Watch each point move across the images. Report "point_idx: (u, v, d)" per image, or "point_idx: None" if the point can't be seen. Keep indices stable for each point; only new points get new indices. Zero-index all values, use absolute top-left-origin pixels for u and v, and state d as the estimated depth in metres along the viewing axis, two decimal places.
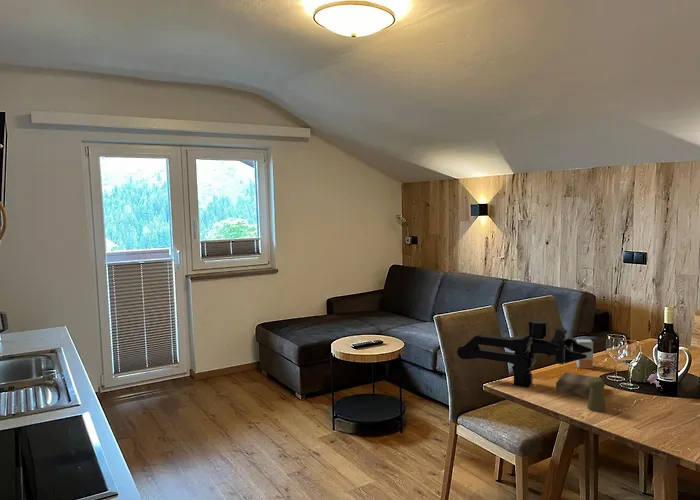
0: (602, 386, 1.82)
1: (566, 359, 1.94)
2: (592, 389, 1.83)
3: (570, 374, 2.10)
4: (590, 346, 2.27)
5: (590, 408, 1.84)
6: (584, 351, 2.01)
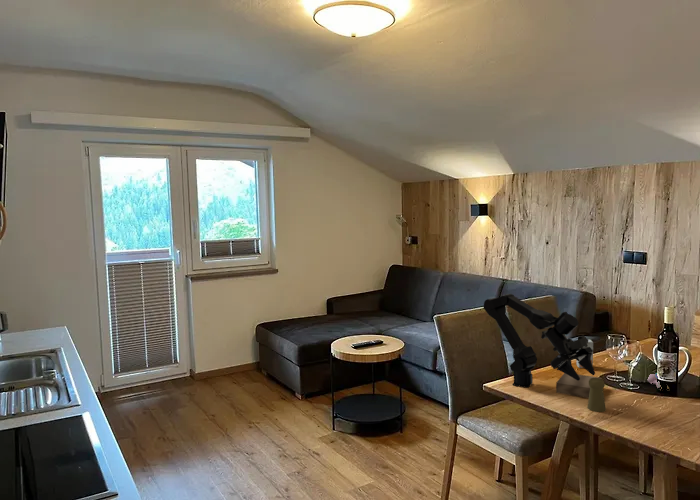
0: (602, 386, 1.82)
1: (560, 368, 1.87)
2: (592, 389, 1.83)
3: None
4: (590, 346, 2.27)
5: (590, 408, 1.84)
6: (588, 369, 1.91)
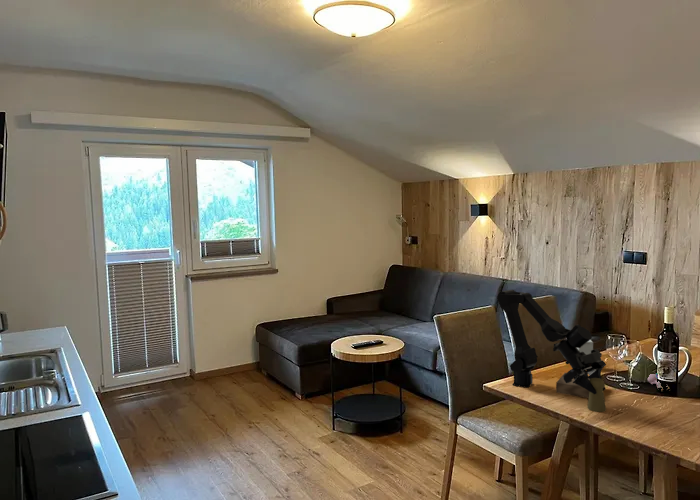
0: (602, 386, 1.82)
1: (576, 381, 1.84)
2: None
3: None
4: (590, 346, 2.27)
5: (590, 408, 1.84)
6: None
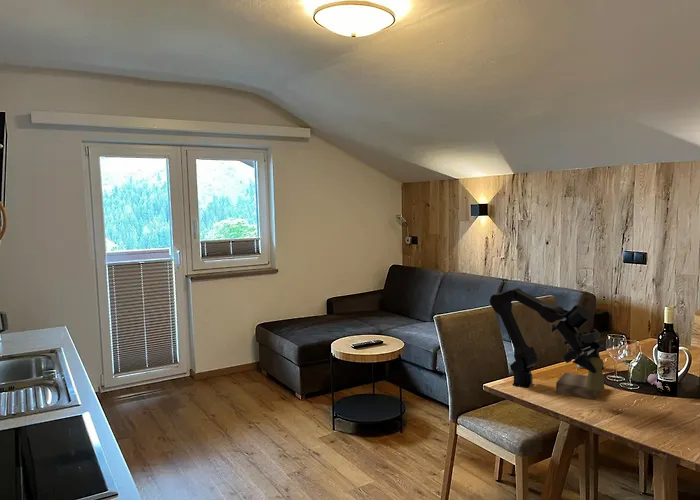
0: (601, 365, 1.83)
1: (576, 360, 1.86)
2: None
3: (570, 374, 2.10)
4: None
5: (589, 387, 1.85)
6: None
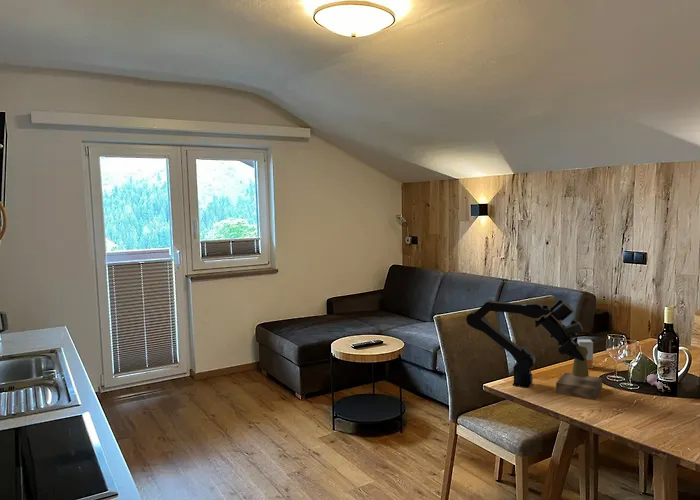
0: (587, 352, 1.99)
1: (567, 351, 1.98)
2: None
3: (570, 374, 2.10)
4: (590, 346, 2.27)
5: (578, 374, 1.99)
6: None
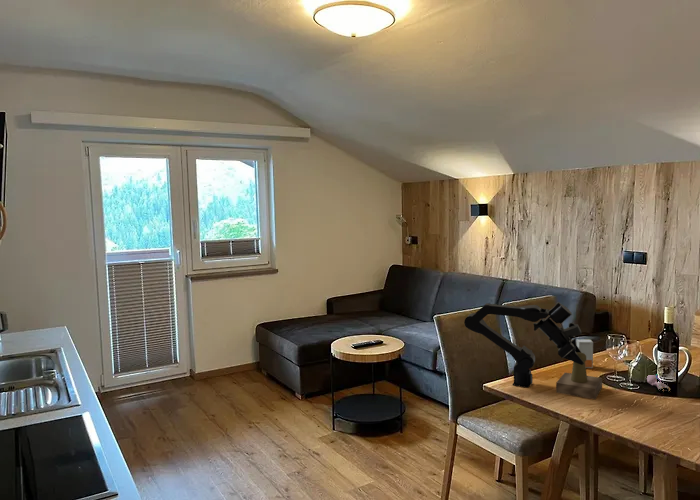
0: None
1: (567, 355, 1.97)
2: None
3: (570, 374, 2.10)
4: (590, 346, 2.27)
5: (577, 380, 2.00)
6: None
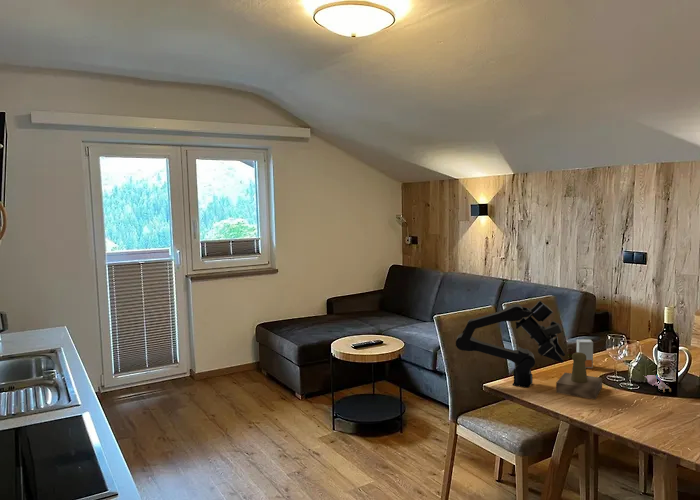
0: None
1: (546, 353, 2.00)
2: (578, 363, 2.00)
3: (570, 374, 2.10)
4: (590, 346, 2.27)
5: (577, 380, 2.00)
6: (558, 352, 2.09)
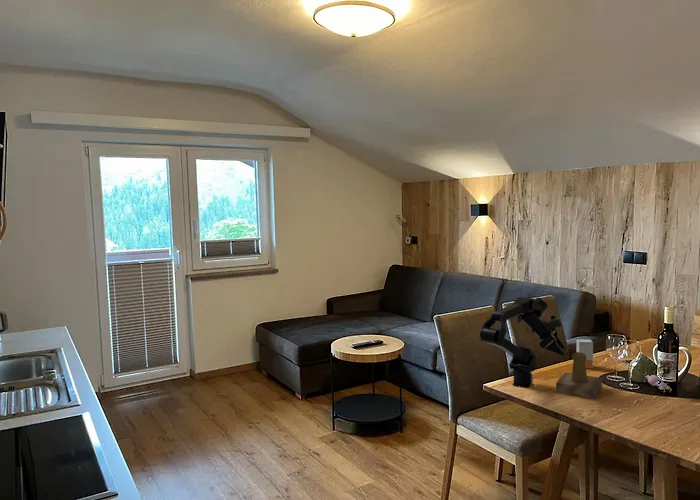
0: None
1: (548, 346, 2.04)
2: (578, 363, 2.00)
3: (570, 374, 2.10)
4: (590, 346, 2.27)
5: (577, 381, 2.00)
6: (558, 345, 2.14)
